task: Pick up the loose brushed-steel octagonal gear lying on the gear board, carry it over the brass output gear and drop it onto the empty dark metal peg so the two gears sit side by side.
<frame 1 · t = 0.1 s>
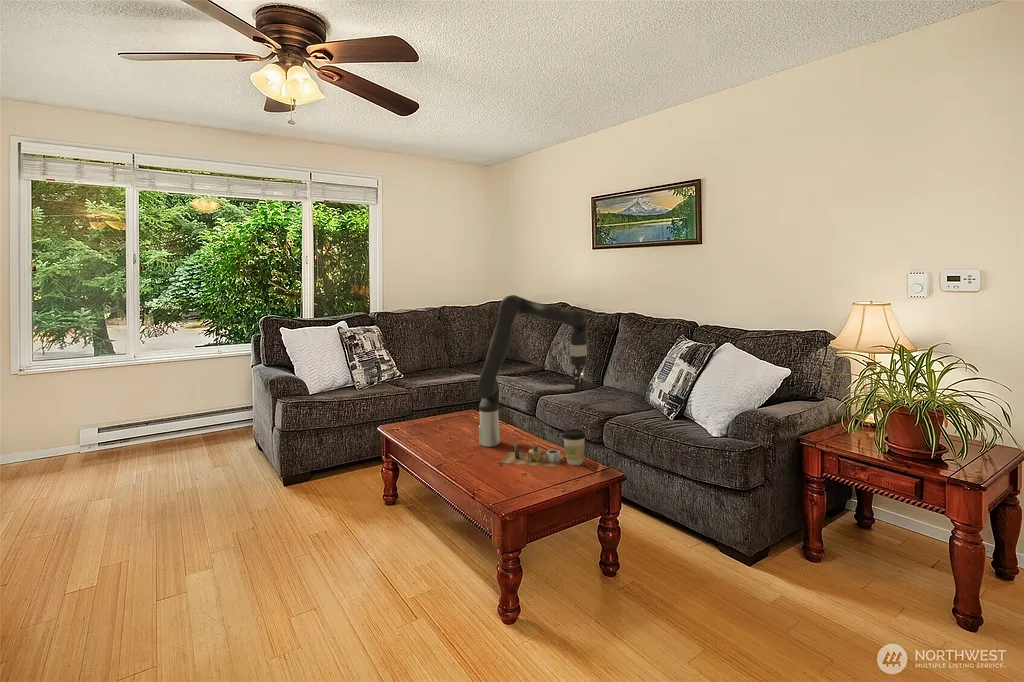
hand: (579, 388, 243), 29 cm above the table, fingers open, 8 cm apart
coffee cup: (574, 466, 228), on the table
gear board: (532, 462, 234), on the table
steel gear: (553, 460, 231), point 1 cm above the table, touching gear board
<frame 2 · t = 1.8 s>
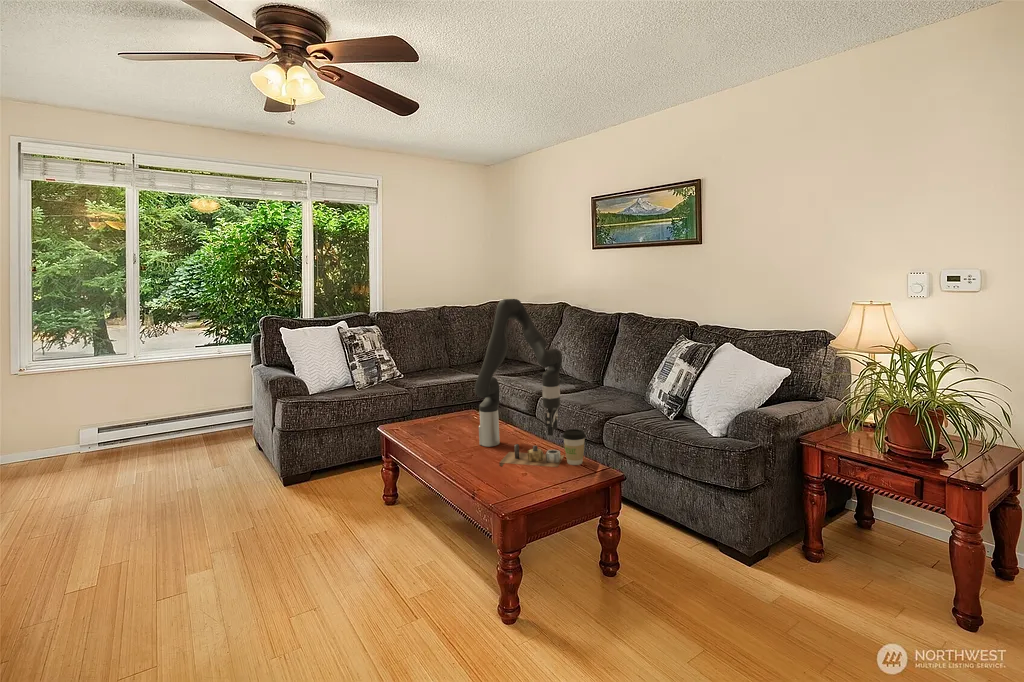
hand: (552, 432, 229), 14 cm above the table, fingers open, 8 cm apart
nothing on the table moved.
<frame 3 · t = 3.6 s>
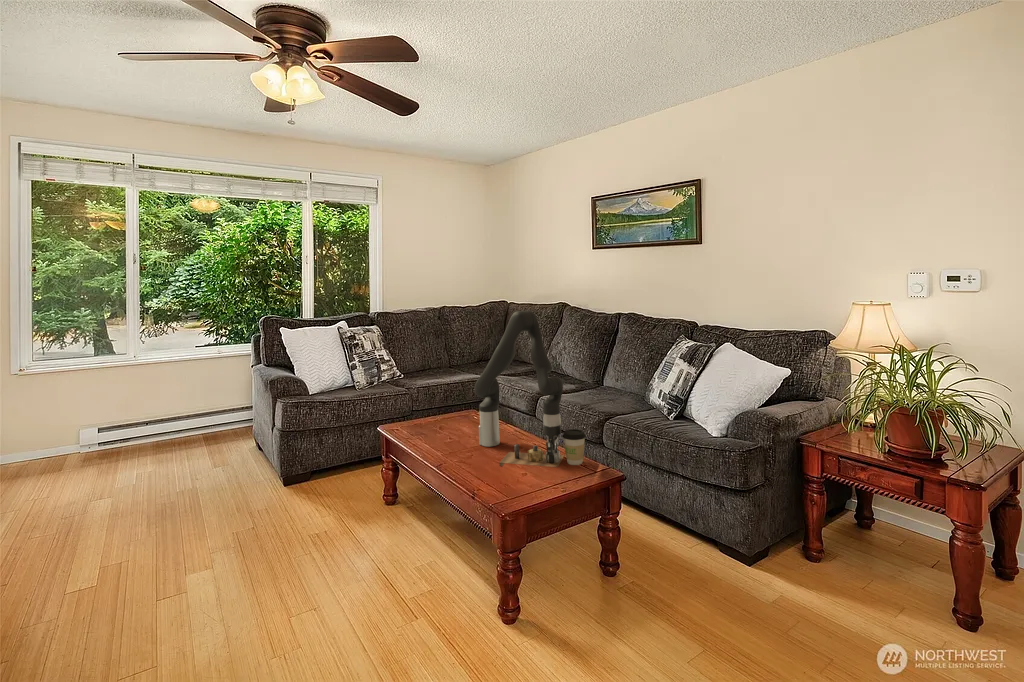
hand: (553, 460, 231), 2 cm above the table, fingers closed on steel gear, 5 cm apart
steel gear: (553, 460, 231), point 2 cm above the table, touching gripper
everything else where it was.
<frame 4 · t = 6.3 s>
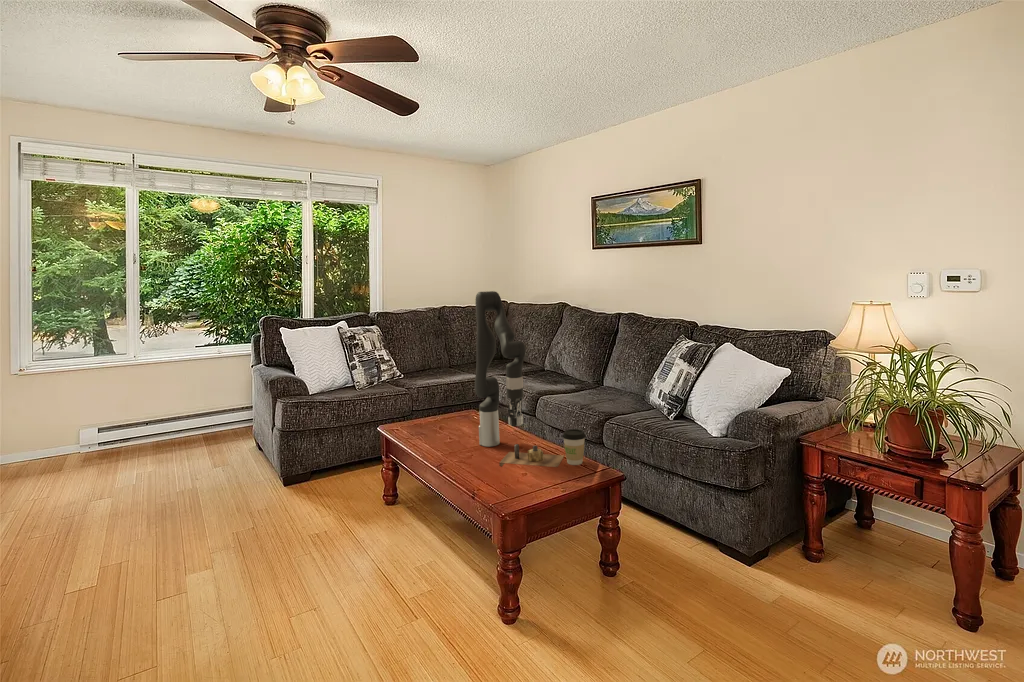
hand: (516, 423, 234), 17 cm above the table, fingers closed on steel gear, 5 cm apart
steel gear: (516, 423, 234), point 17 cm above the table, touching gripper
everything else where it was.
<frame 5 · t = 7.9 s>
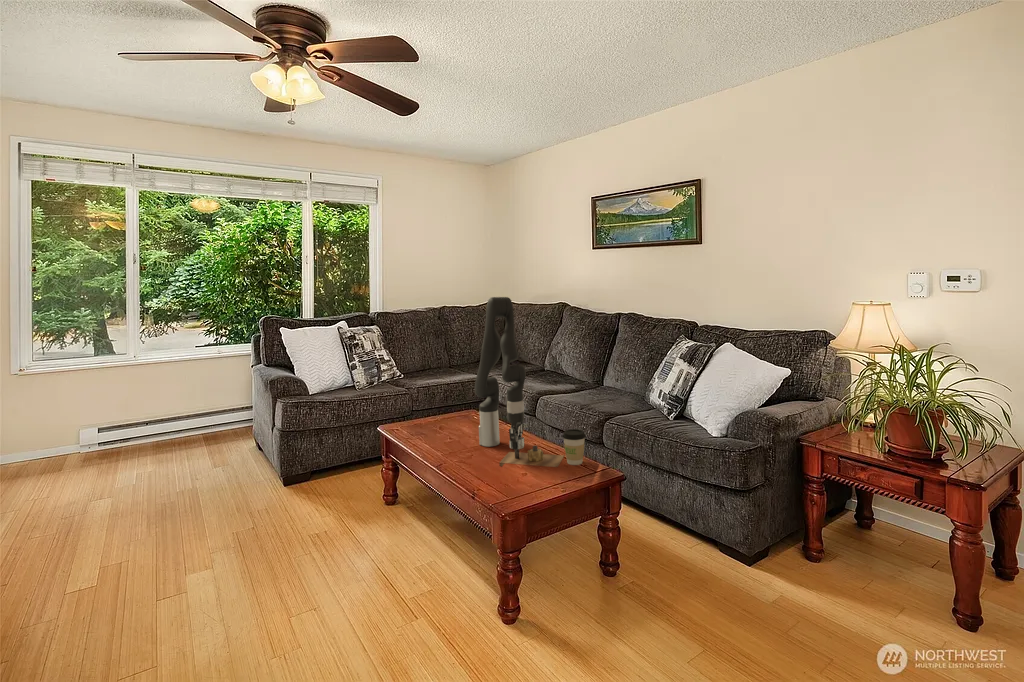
hand: (517, 447, 235), 7 cm above the table, fingers closed on steel gear, 5 cm apart
steel gear: (517, 447, 235), point 7 cm above the table, touching gripper
everything else where it was.
when the fingers open (4 cm above the table, at t = 9.2 s): steel gear drops 3 cm, resting on gear board.
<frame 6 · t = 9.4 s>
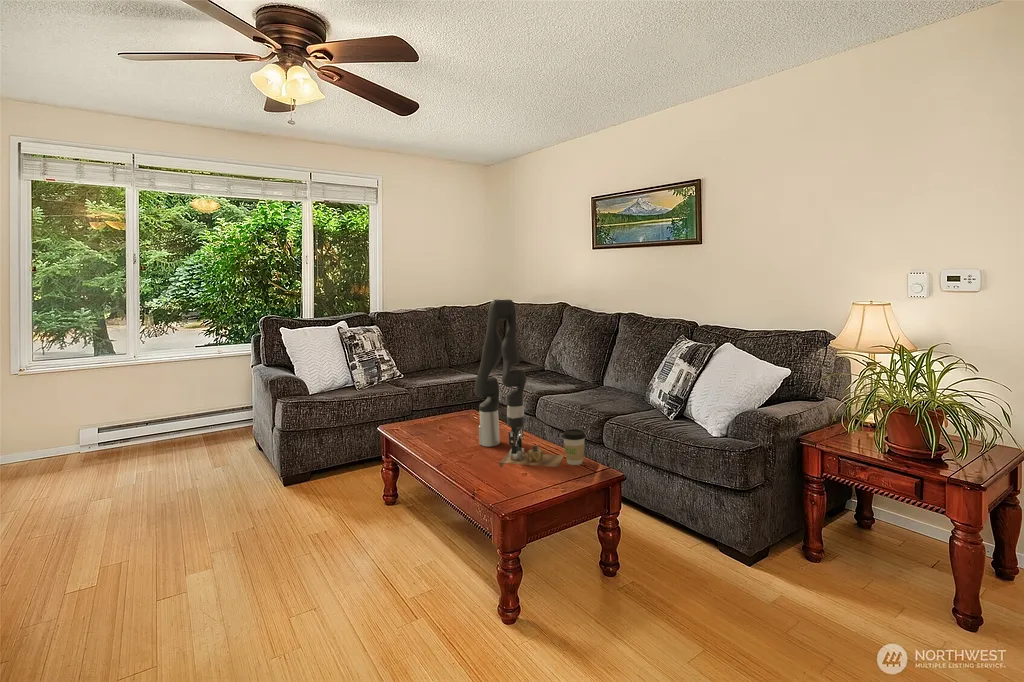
hand: (516, 450, 235), 5 cm above the table, fingers open, 7 cm apart
steel gear: (517, 457, 236), point 1 cm above the table, touching gear board
everything else where it was.
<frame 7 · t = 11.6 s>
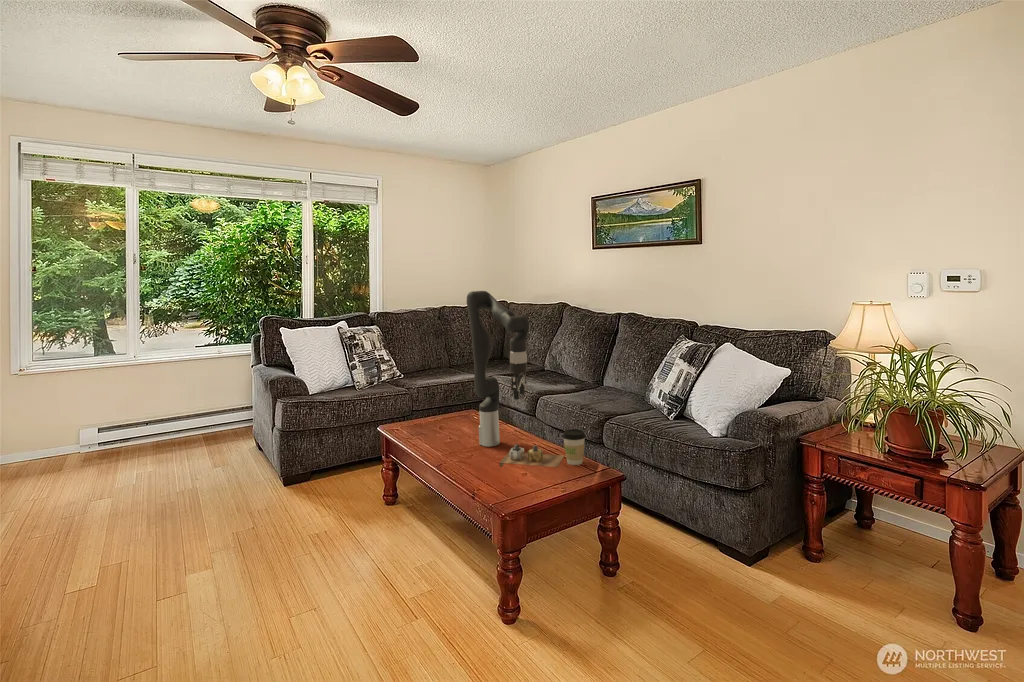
hand: (519, 396, 235), 28 cm above the table, fingers open, 8 cm apart
nothing on the table moved.
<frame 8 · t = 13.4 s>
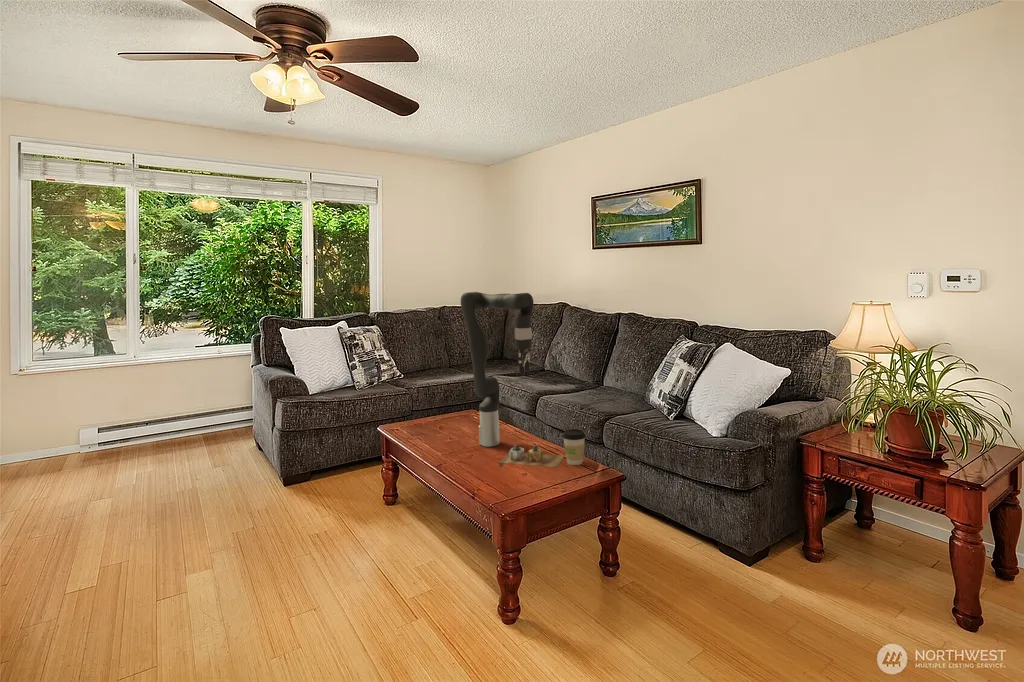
hand: (524, 373, 239), 38 cm above the table, fingers open, 8 cm apart
nothing on the table moved.
at the end: steel gear 0.0 cm from the target spot on the gear board, point 1.5 cm above the gear board's base; the gripper is holding nothing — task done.
